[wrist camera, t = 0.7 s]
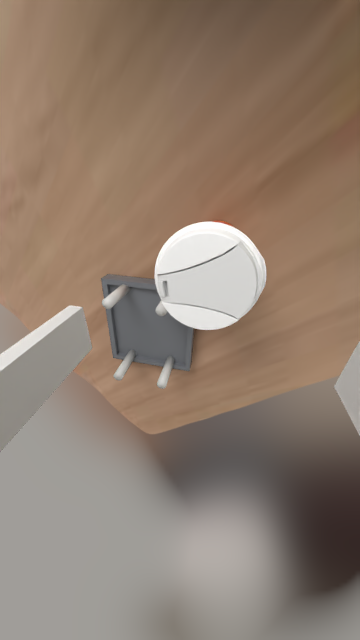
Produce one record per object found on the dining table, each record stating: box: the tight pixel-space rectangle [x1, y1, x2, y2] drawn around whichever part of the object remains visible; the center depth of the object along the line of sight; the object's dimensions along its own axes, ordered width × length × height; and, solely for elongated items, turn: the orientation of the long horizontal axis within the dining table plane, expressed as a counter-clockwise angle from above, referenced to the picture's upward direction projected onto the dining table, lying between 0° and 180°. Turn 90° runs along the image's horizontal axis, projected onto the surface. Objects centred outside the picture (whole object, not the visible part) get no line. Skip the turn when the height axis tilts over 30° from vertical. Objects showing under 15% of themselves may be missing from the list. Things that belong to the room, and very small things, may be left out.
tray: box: [101, 274, 194, 389], centre depth 33 cm, size 15×14×7 cm
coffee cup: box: [155, 221, 266, 330], centre depth 22 cm, size 8×8×15 cm
